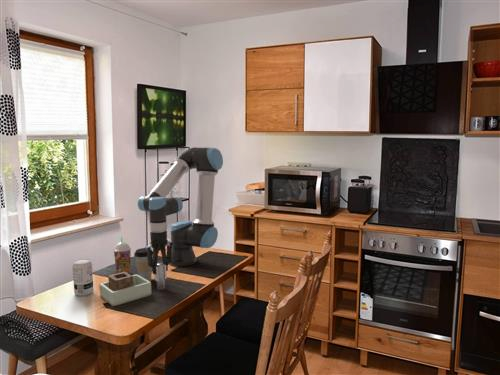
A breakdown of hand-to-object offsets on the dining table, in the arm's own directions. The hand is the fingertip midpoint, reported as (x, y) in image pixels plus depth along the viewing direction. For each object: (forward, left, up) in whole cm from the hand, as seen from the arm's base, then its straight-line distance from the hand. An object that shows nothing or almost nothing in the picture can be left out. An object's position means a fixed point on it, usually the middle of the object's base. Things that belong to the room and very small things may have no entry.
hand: (160, 279), depth 195 cm
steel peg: (0, 0, -5) cm, 5 cm away
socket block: (+18, -3, -5) cm, 19 cm away
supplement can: (+29, -19, -5) cm, 35 cm away
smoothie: (+5, -30, -5) cm, 31 cm away
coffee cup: (0, -16, -5) cm, 17 cm away
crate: (+16, -3, -5) cm, 17 cm away
